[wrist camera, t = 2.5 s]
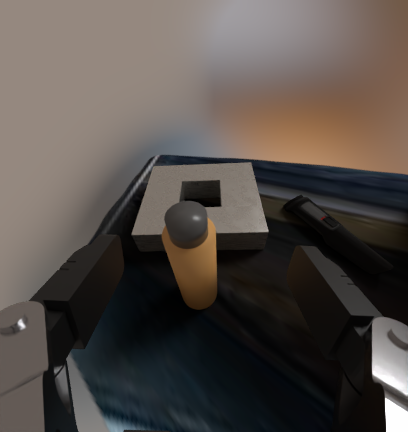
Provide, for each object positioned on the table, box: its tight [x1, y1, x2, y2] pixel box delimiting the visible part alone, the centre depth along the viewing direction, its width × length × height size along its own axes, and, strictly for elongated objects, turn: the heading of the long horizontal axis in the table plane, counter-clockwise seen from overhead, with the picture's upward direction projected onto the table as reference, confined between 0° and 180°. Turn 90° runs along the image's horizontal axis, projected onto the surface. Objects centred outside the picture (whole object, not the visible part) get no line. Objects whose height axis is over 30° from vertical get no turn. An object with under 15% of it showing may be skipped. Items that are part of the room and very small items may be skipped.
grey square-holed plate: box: [132, 163, 268, 251], centre depth 33 cm, size 18×16×4 cm
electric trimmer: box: [284, 195, 393, 274], centre depth 29 cm, size 4×16×3 cm, turn 27°
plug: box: [162, 201, 217, 310], centre depth 20 cm, size 4×4×14 cm
